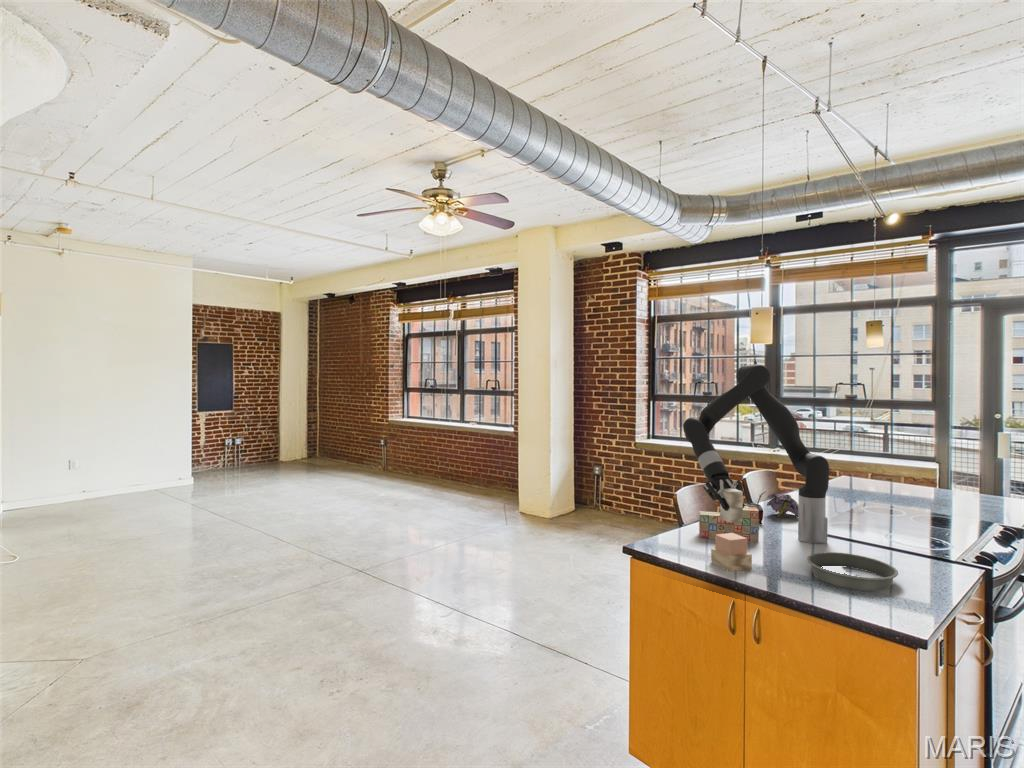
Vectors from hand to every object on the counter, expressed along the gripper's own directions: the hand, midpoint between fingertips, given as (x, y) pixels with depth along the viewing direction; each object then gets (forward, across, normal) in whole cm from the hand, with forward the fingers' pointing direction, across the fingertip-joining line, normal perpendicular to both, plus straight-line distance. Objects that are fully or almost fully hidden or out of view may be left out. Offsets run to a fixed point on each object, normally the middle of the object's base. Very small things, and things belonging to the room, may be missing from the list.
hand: (734, 508), depth 186 cm
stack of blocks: (-7, +20, +35) cm, 41 cm away
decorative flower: (-22, +65, +50) cm, 85 cm away
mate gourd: (-17, +44, +45) cm, 65 cm away
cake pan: (+27, +30, +2) cm, 40 cm away
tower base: (+13, 0, +16) cm, 20 cm away
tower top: (+9, 0, +12) cm, 15 cm away
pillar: (+2, 0, +4) cm, 5 cm away
